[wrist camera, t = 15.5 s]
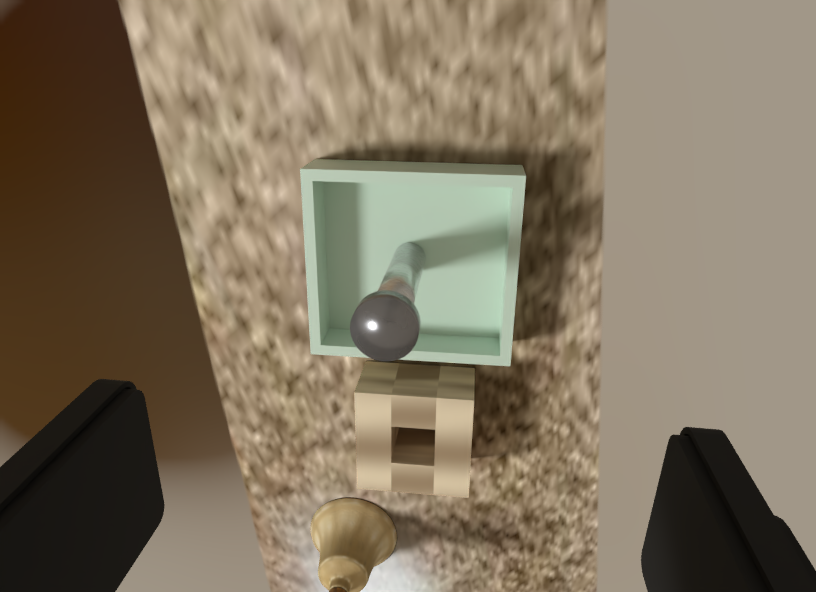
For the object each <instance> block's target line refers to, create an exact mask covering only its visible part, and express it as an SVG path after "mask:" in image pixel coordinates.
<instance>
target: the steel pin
mask: <svg viewBox="0 0 816 592" xmlns="http://www.w3.org/2000/svg"><path fill="white" fill-rule="evenodd" d="M425 261H426V255H425V252H424V250H423V249H422V248H421V247H420V246H419V245H418V244H415V243H412V242H407V243H403V244H401V245H400V246H399V247H398V248H397V249H396V251H395V253H394V255H393V257H392V260H391V262H390V264H389V266H388V269H387V271H386V273H385V275H384V278H383V280H382V282H381V284H380V287H379V289H378V291H376V292H373V293H371V294H369V295H367V296H366V297H365V298H363V299H362V300H361V301H360V303H359V304H358V306H357V308H356V310H355V312H354V314H353V316H352V318H351V322H350V334H351V337H352V340H353V342H354V344H355V345H356V347H357V348H358V349H359V350H360V351H361V352H362V353H363V354H365V355H366V356H368V357H370V358H372V359H374V360H378V361H395V360H398V359H401V358H403V357H405V356H406V355H407V354H409V353H410V352H411V351H412V349H413V348H414V346H415V345H416V342H417V340H418V335H419V331H420V325H421V321H420V315H419V312H418V310H417V308H416V306H415V305H414V302H415V298H416V294H417V291H418V287H419V283H420V280H421V276H422V272H423V269H424V265H425Z"/></svg>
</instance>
